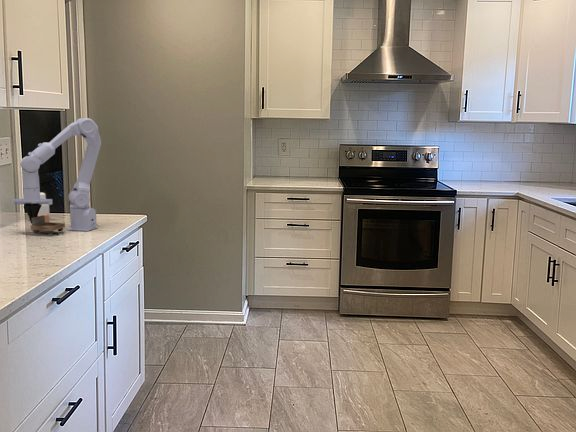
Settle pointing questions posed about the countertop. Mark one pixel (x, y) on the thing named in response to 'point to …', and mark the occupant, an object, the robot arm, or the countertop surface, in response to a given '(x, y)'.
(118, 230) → the countertop surface
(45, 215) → the terracotta block
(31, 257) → the countertop surface
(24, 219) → the countertop surface
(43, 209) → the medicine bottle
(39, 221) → the cart
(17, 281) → the countertop surface
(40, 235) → the rails
